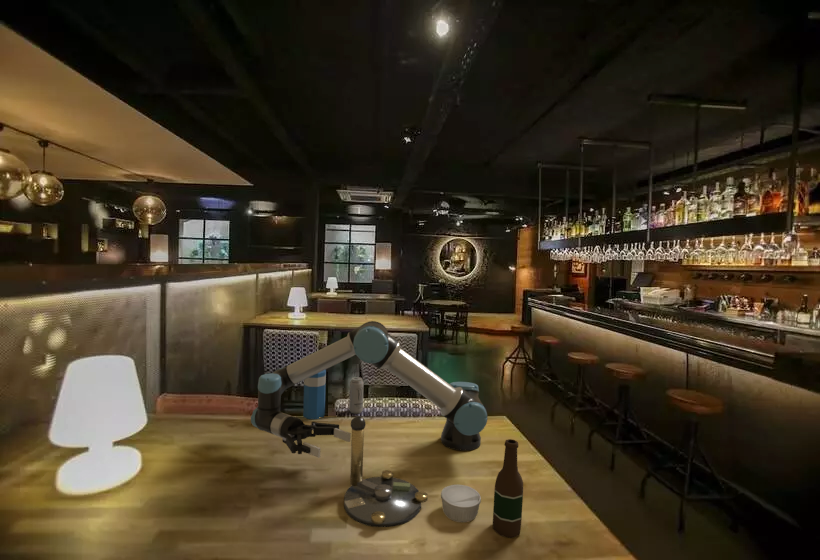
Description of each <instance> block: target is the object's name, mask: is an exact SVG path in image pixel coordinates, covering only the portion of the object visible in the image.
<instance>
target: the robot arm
mask: <svg viewBox="0 0 820 560" xmlns="http://www.w3.org/2000/svg"><path fill="white" fill-rule="evenodd" d="M400 344H401V343H400V341H399V340H398V339H396V338H395V337H394V336H392V335H391V334H389V331H388V329H387V328H386V326H385V325H384V324H383V323H381V322H379V321H375V320H374V321H373V320H371V321H370V320H369V321H367V322H364V323H363V324H361V325H360V326H358V327H356V328H355V329H352V330H351V331H348V333H347V336H345V337H343V338H341V339H339V340H337V341H335V342H333V343H331V344H329V345H326V346H324V347H322V348H321V349H319V350H316V351H315V352H313V353H310V354H308V355H306V356H304V357H302V358H301V359H299V360H297V361H294V362H292V363H290V364H288V365H286V366H285V367H281V368H277V369H276V370H274V371H273V372H272V373H271V372H270V373H265V374H261V375H260V376H259V377H258V383H257V407H256V408H254V410H253V411H252V414H251V415H250V423H251V424H252V426H253V427H255V428H257V430H258V429H259V430H260V431H263V432H266V433H269V434H272V435H274V436H276V437H278V438H282V443H284V444H286V446H287V447H288V449H289V451H290V452H291V454H296V453H297V454H298V455H302V453H305V454H307V455H311V456H313V457H316V458H318V459H319V458H321V447H319V446H316V445H314V444H311V443H309V442H305V441H304V442H303V441H302V440H306V439H308V438H311V437H312V438H315V437H316V436H333V437H334V438H337V439H339V440H342V441H345V442H348V443H351V439H352V432H348V431H345V430H343V429H340V424H336V423H335V424H334V423H327V422H326V423H324V422H316V421H311V424H305V423H304V421H303V420H302V419H301V418H299V417H296V416H293V415H290V414H287V413H284V412H282V411H281V403H282V402H281V400H282V399H281V398H282V397H281V396H282V394H284V392H285V391H286V390H287V389H289V388H291V387H293V386H295V385H296V384H298V383H300V382H301V383H302V382H304V380H305V379H307V378H309V377H311V376H313V375H315V374H317V373H319V372H321V371H323V370H327V369H330V368H331V367H333V366H336V365H337V364H339V363H341V362H343V361H345V360H348V359H350V358H352V357H354V356H355V355H356V356H357V358H358V359H359V360H361V361H362V362H364V363H366V364H371V365H373V366H374V367H375V368H377V369H378V370H382V369H383V370H384V369H386V370H387V371H389V372H390V373H391V374H393V375H394V376H395V377H397V378H399V380H401V381H402V382H404V383H405V384H406V385H408V386H410V388H412V389H413V390H415V391H416V392H418V393H419V394H420V395H421V396H423V397H424V398H426V399H427V400H428V401H430V402H431V403H432V404H434V405H435V406H436V407H438V408H439V409H440V414H441V416H442V417H444V418H445V419H446V421H445V424H444V426H443V428H442V432H441V435H440V441H441V442H440V443H441V444H442V445H443V446H445V447H447V448H448V449H451V450H455V451H464V452H465V451H466V452H467V451H472V450H476V449H478V448H479V447H481V442H482V441H481V440H482V437H481V435H480V434H481V432H482V431H483V430H484V429H485V427H486V426H487V423H488V412H487V409H486V406H484V404H483V402H482V401H481V399H480V398H479V392H480V390H479V385H478V384H476V383H475V382H468V381H453V382H450V383H448V382H447V381H446V380H444V379H443V378H442V377H440V376H439V375H438V374H436V372H433V371H432V370H431V369H430V368H428V367H427V366H426V365H424V364H423V363H421V362H420V361H419V360H417V359H416V358H415V357H413V356H412V355H411V354H409V353H408V352H406V351H405V350H404V349H403V348H401V345H400Z"/></svg>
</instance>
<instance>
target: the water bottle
mask: <svg viewBox="0 0 820 560" xmlns="http://www.w3.org/2000/svg"><path fill="white" fill-rule="evenodd" d="M326 377H327V369H325V370H323V371H321V372H319V373H317V374H315V375H313V376H311V377H309V378H307V379H305V380H303V407H302V408H303V410H302V411H303V413H302V414H303V418H305V419H307V420H318V419H320V418H319V417H322V418H324V417H325V414H326V385H327V384H326V381H327V380H326V379H327V378H326Z"/></svg>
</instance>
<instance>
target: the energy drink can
mask: <svg viewBox="0 0 820 560" xmlns="http://www.w3.org/2000/svg"><path fill="white" fill-rule="evenodd" d="M364 384H365V383H364V381H363V378H362V377H359V376H358V377H357V376H355V377H352V378H351V380H350V382H349V400H348V401H349V404H348V405H349V409H348V410H349V411H350V413H351V414H354V415H356V414H357V415H359V414H361V413H362V412H363V410H364Z"/></svg>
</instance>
